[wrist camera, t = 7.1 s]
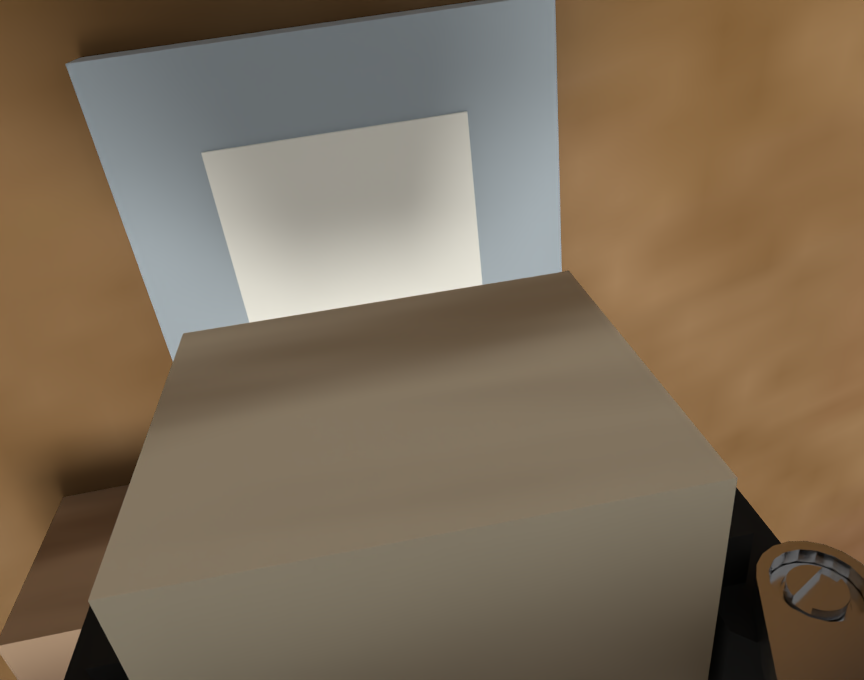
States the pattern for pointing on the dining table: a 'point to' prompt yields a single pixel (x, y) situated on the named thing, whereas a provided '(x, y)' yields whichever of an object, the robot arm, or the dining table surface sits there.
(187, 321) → the plate
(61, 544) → the block top
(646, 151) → the dining table surface
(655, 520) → the block base
